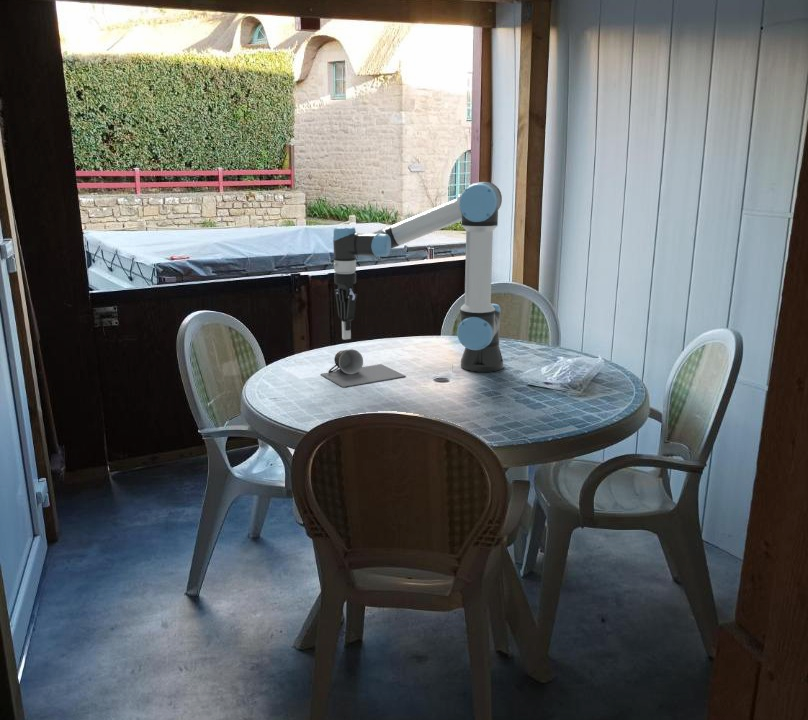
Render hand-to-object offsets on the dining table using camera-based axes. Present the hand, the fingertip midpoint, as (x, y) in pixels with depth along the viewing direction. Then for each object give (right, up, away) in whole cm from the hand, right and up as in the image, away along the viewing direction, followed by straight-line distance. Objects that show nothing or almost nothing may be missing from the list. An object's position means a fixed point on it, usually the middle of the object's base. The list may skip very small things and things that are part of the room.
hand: (346, 338), depth 267 cm
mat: (+6, -13, -7) cm, 16 cm away
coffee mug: (-3, -7, +1) cm, 8 cm away
